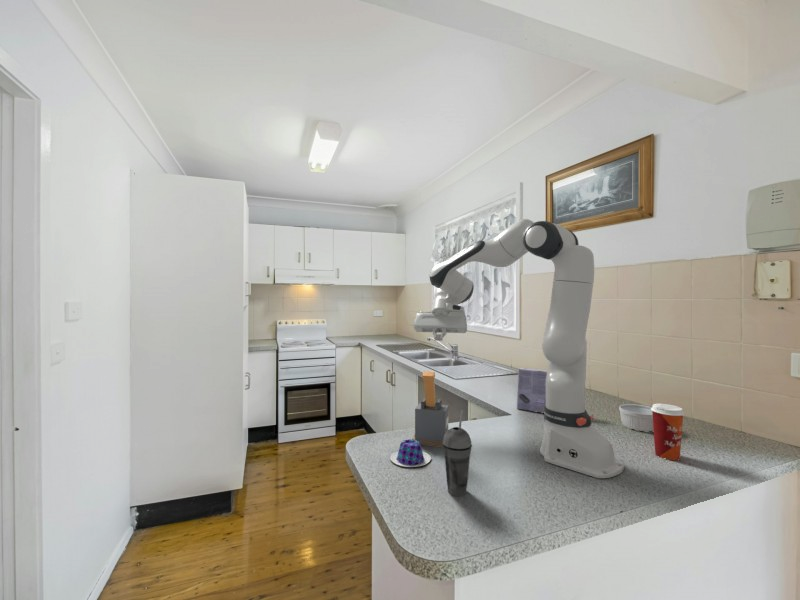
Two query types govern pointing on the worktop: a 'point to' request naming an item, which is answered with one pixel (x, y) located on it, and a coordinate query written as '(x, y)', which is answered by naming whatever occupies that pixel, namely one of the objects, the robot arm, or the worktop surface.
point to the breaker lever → (429, 388)
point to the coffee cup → (667, 430)
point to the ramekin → (637, 417)
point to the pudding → (410, 454)
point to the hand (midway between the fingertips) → (438, 339)
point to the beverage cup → (457, 459)
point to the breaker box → (431, 423)
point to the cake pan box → (531, 389)
